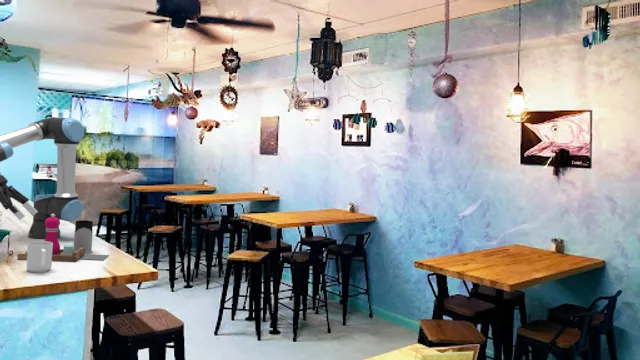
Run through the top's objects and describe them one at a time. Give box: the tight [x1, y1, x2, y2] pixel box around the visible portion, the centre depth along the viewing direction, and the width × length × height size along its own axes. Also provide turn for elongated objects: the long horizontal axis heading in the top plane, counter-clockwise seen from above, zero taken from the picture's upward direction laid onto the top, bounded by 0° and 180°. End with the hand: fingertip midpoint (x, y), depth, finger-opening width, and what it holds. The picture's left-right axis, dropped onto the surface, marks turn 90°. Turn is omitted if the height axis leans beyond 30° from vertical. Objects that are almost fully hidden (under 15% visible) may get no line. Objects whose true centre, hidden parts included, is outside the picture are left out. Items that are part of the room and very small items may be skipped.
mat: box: [79, 253, 110, 261], centre depth 223 cm, size 10×10×1 cm
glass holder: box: [73, 219, 94, 255], centre depth 234 cm, size 9×14×15 cm, turn 27°
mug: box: [25, 240, 53, 273], centre depth 194 cm, size 12×9×11 cm
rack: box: [16, 247, 86, 263], centre depth 217 cm, size 14×24×4 cm, turn 101°
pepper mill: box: [44, 214, 61, 255], centre depth 216 cm, size 7×7×20 cm
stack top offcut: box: [62, 244, 74, 253], centre depth 218 cm, size 4×4×3 cm
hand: (29, 215), depth 214 cm, fingers open, 13 cm apart
